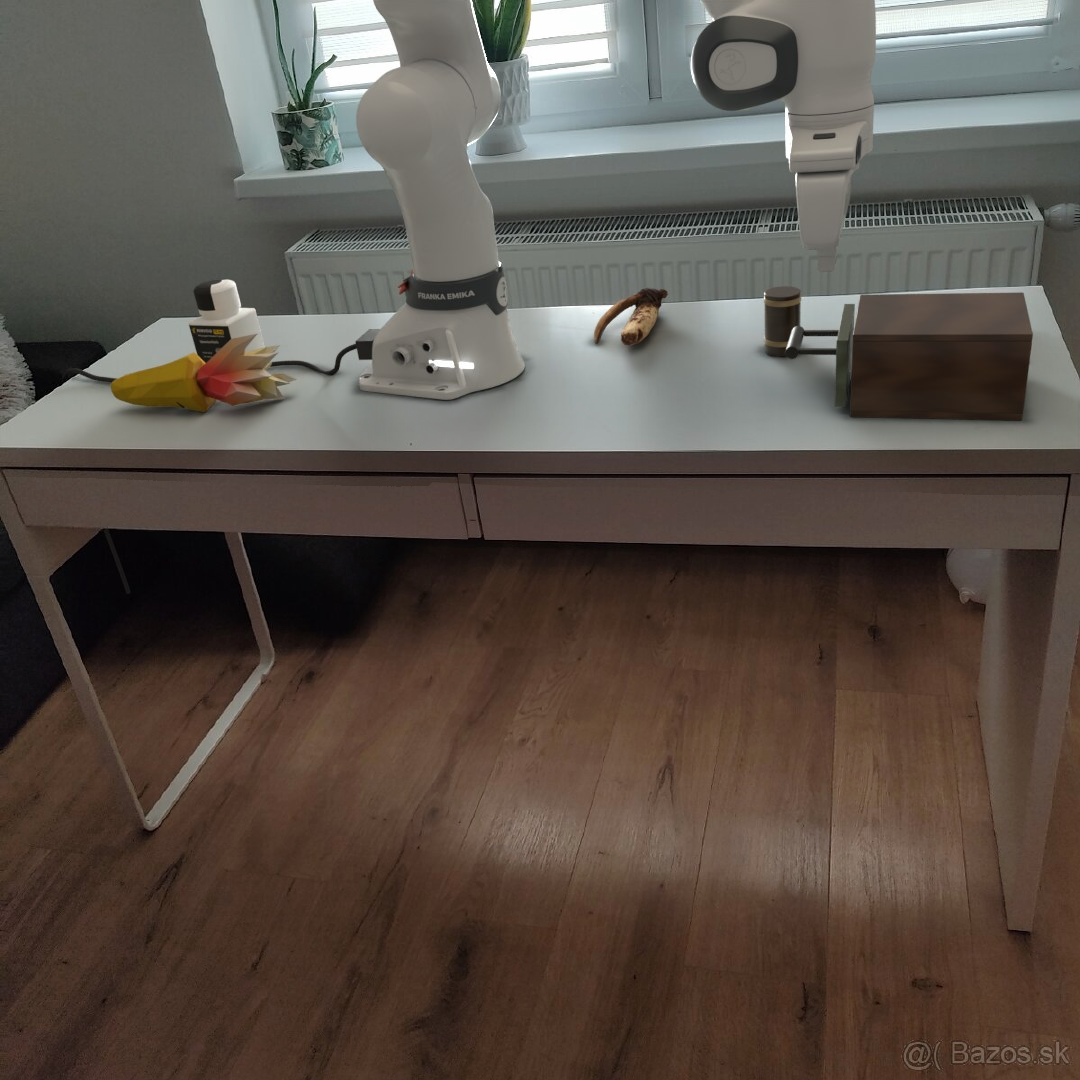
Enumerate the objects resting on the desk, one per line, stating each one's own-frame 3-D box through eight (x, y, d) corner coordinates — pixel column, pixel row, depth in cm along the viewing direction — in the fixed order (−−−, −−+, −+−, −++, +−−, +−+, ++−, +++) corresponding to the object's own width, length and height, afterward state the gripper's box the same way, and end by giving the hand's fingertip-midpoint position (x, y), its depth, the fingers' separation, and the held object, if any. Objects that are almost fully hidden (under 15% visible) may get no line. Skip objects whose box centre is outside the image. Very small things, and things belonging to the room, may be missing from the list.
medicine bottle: (200, 368, 158) (177, 289, 152) (229, 351, 163) (208, 274, 157) (239, 370, 155) (217, 290, 149) (267, 353, 161) (247, 275, 155)
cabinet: (849, 417, 118) (852, 334, 113) (856, 371, 129) (859, 294, 125) (1022, 420, 113) (1033, 334, 108) (1014, 372, 124) (1023, 292, 119)
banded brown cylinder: (762, 356, 137) (761, 297, 133) (766, 344, 141) (766, 286, 137) (798, 356, 136) (799, 297, 132) (802, 344, 139) (803, 285, 135)
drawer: (782, 406, 121) (782, 340, 117) (793, 366, 131) (794, 304, 127) (994, 410, 114) (1002, 340, 110) (989, 367, 124) (996, 302, 120)
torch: (136, 432, 148) (301, 399, 143) (102, 428, 141) (275, 393, 135) (127, 373, 148) (291, 338, 143) (92, 366, 140) (265, 329, 135)
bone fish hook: (611, 315, 160) (584, 355, 145) (608, 284, 157) (579, 322, 142) (673, 311, 157) (651, 352, 142) (670, 280, 155) (648, 318, 140)
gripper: (807, 121, 120) (806, 243, 127) (787, 159, 104) (787, 297, 110) (865, 116, 118) (861, 241, 125) (854, 154, 102) (850, 296, 108)
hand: (826, 268), depth 117 cm, fingers closed
